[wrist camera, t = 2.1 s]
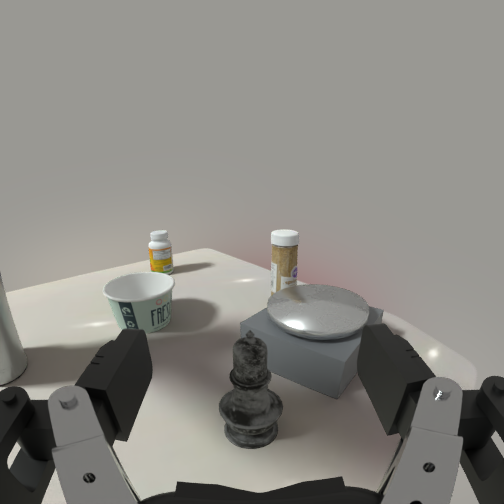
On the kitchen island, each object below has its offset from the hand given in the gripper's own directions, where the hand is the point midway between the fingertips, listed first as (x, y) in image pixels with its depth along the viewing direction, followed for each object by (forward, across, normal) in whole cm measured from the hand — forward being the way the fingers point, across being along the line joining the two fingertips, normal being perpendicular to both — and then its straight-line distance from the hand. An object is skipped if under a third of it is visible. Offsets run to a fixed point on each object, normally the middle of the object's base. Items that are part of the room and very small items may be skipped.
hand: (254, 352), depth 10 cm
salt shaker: (+12, 0, +18) cm, 21 cm away
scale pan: (+25, -9, +13) cm, 29 cm away
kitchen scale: (+25, -8, +18) cm, 32 cm away
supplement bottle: (+57, +21, +17) cm, 63 cm away
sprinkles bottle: (+39, -6, +18) cm, 43 cm away
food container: (+34, +18, +18) cm, 42 cm away
